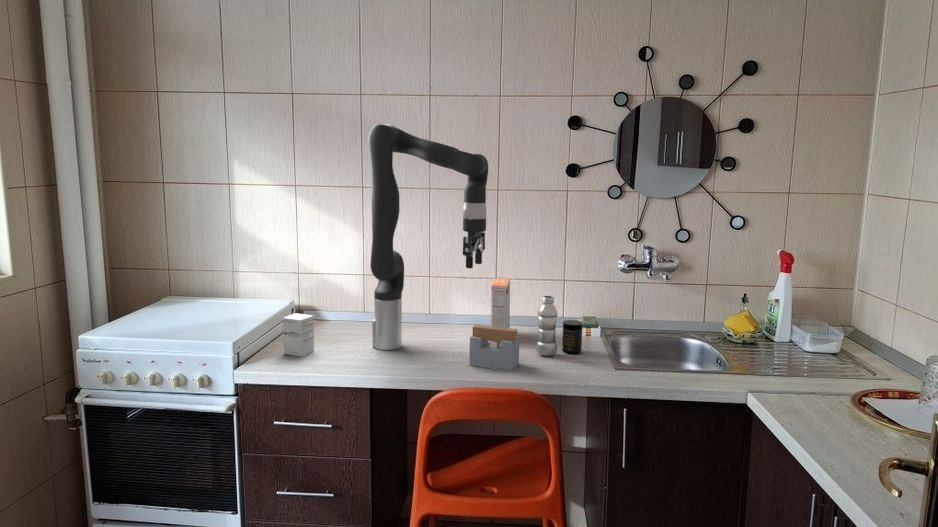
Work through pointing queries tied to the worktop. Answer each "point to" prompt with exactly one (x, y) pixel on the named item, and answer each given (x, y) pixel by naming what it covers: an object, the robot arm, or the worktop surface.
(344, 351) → the worktop surface
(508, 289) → the cracker box
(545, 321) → the plastic bottle
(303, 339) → the supplement box
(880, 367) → the worktop surface
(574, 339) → the supplement container
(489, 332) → the frame bar
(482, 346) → the notched gray block
